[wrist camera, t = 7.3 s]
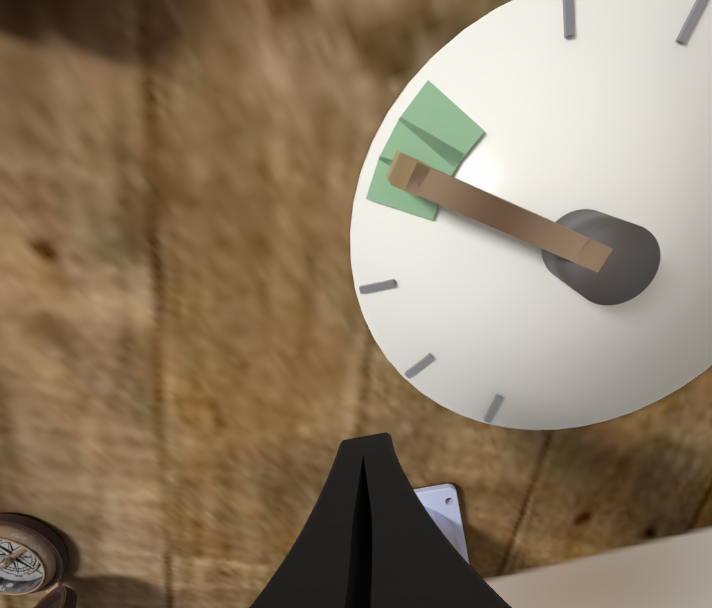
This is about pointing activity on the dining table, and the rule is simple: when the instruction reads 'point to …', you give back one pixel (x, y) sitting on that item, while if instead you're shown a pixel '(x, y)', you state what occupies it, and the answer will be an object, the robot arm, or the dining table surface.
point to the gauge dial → (546, 211)
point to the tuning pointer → (549, 234)
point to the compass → (33, 561)
